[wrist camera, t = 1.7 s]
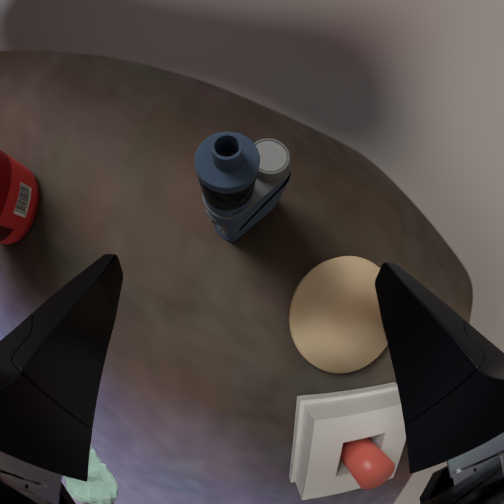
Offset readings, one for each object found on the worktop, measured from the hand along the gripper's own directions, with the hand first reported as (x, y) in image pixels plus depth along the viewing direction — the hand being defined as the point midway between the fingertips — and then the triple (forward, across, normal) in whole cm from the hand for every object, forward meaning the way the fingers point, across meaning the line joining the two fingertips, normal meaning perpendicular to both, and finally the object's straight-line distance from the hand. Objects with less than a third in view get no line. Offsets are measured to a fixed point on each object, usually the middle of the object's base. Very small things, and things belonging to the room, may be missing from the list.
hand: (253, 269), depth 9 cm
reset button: (-4, -9, +16) cm, 19 cm away
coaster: (+6, -8, +10) cm, 14 cm away
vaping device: (+12, 0, +5) cm, 12 cm away
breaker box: (-2, -9, +18) cm, 20 cm away
